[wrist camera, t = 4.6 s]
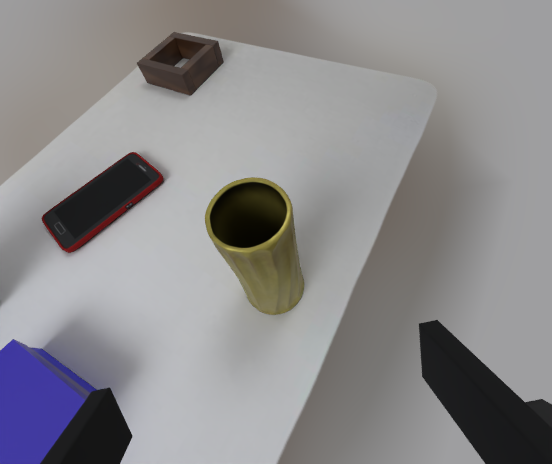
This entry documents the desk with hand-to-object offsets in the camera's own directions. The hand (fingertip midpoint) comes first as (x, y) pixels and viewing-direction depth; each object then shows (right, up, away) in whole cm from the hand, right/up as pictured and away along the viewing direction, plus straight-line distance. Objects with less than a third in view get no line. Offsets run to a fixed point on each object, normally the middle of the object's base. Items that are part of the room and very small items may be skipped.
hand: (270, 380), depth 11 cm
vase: (0, +1, +17) cm, 17 cm away
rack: (-16, +35, +37) cm, 54 cm away
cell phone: (-22, +10, +25) cm, 35 cm away
